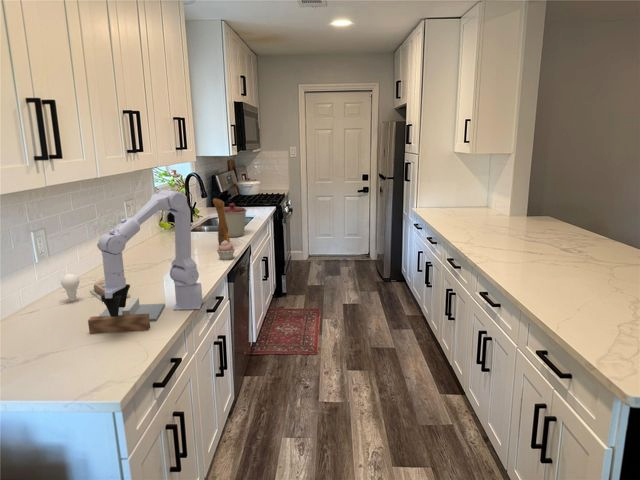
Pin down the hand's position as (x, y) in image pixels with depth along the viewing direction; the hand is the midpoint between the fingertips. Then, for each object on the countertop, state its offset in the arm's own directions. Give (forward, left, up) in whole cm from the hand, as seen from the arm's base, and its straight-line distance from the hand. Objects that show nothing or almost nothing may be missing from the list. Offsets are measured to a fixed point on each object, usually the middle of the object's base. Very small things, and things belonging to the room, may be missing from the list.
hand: (118, 311), depth 142 cm
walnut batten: (0, 0, -7) cm, 7 cm away
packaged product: (+14, -35, -7) cm, 38 cm away
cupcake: (-28, -83, -7) cm, 88 cm away
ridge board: (0, -13, -7) cm, 15 cm away
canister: (-28, -137, -7) cm, 140 cm away
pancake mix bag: (-25, -108, -7) cm, 111 cm away
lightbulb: (+26, -29, -7) cm, 40 cm away
